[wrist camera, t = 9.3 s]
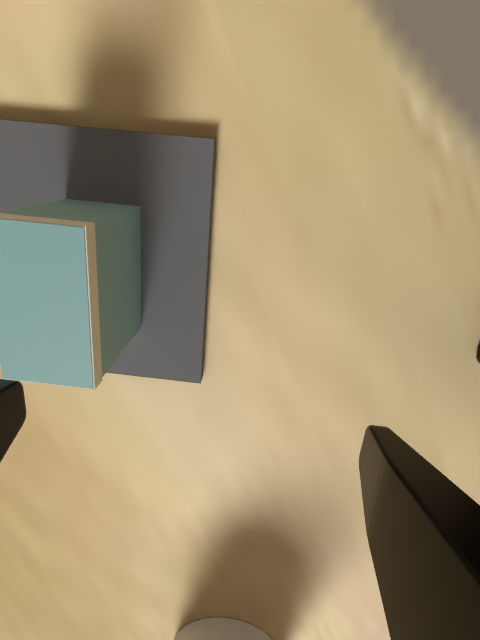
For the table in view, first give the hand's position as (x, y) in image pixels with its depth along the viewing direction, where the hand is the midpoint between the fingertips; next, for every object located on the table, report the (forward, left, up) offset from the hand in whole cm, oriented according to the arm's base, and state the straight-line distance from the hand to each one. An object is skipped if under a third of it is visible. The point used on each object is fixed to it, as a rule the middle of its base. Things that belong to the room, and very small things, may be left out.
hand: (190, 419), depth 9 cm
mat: (+9, 0, -12) cm, 15 cm away
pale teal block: (+6, 0, -11) cm, 13 cm away
